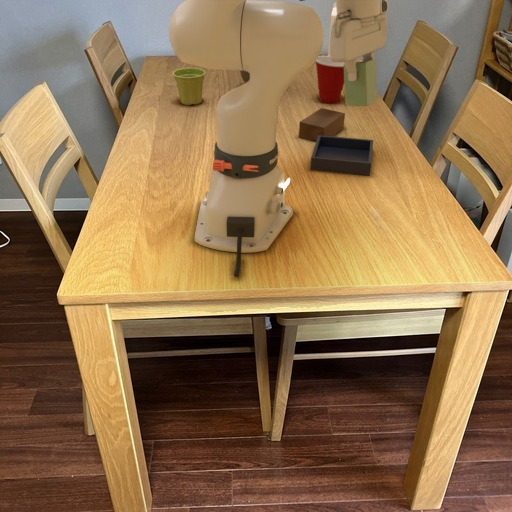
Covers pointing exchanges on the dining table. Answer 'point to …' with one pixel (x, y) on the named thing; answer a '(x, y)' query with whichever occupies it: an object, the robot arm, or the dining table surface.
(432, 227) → the dining table surface
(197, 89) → the plant pot
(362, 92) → the green box
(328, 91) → the plastic cup
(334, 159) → the tray
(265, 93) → the robot arm
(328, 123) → the walnut block
